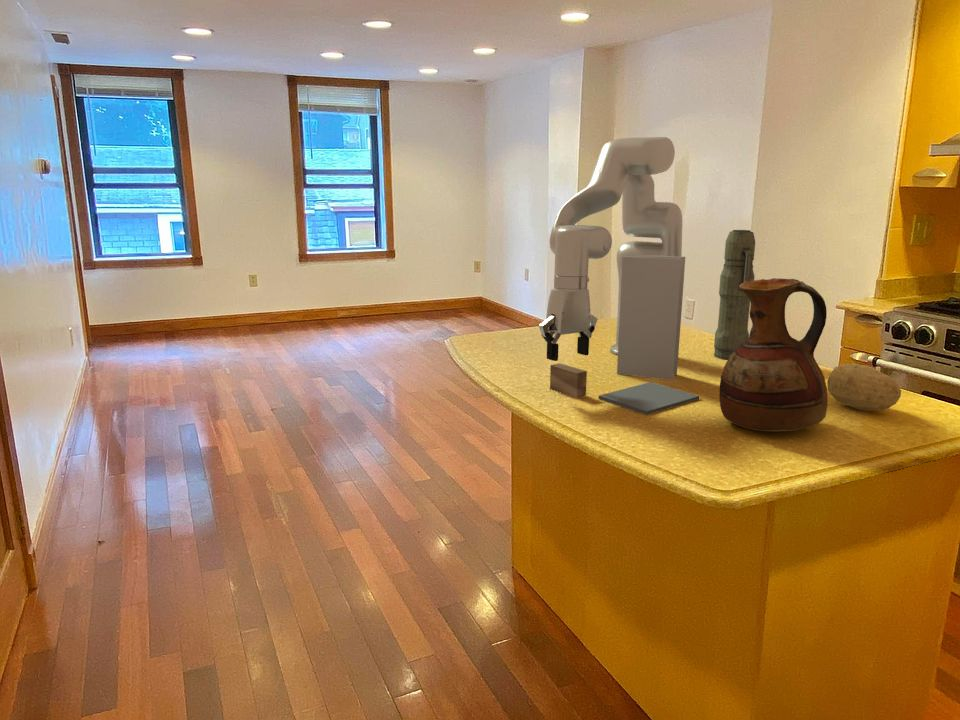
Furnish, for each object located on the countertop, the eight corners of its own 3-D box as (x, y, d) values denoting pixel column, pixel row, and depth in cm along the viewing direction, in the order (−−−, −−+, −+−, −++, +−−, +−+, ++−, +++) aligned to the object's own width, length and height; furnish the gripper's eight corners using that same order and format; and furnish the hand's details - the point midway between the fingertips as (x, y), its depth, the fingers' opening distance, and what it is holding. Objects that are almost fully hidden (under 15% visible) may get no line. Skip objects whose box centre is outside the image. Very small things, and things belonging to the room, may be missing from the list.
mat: (650, 385, 168) (650, 381, 167) (699, 399, 157) (699, 395, 157) (598, 398, 157) (598, 395, 157) (646, 415, 146) (647, 411, 146)
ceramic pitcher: (705, 409, 150) (716, 271, 143) (799, 409, 150) (815, 271, 142) (734, 442, 131) (749, 285, 124) (842, 443, 131) (864, 285, 123)
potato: (858, 397, 158) (864, 357, 155) (903, 418, 144) (910, 374, 141) (817, 399, 157) (822, 359, 154) (858, 420, 143) (865, 376, 140)
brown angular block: (559, 387, 167) (559, 363, 165) (585, 396, 160) (586, 371, 158) (549, 389, 165) (550, 365, 163) (576, 398, 158) (577, 373, 156)
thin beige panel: (677, 374, 177) (685, 256, 169) (673, 380, 172) (682, 259, 164) (622, 368, 182) (627, 254, 175) (616, 373, 178) (622, 256, 170)
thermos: (732, 350, 201) (743, 228, 192) (756, 360, 190) (769, 231, 181) (704, 352, 199) (714, 229, 191) (727, 362, 188) (739, 232, 179)
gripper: (586, 279, 164) (582, 349, 168) (530, 284, 154) (528, 358, 158) (609, 282, 158) (605, 355, 162) (553, 287, 148) (551, 365, 152)
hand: (567, 357), depth 160 cm, fingers open, 9 cm apart
